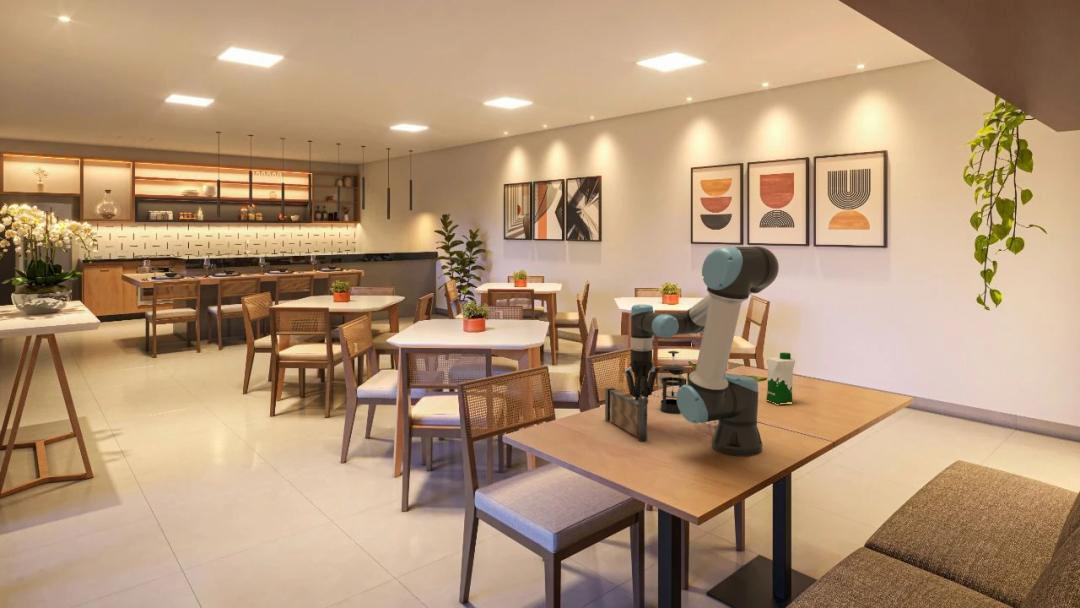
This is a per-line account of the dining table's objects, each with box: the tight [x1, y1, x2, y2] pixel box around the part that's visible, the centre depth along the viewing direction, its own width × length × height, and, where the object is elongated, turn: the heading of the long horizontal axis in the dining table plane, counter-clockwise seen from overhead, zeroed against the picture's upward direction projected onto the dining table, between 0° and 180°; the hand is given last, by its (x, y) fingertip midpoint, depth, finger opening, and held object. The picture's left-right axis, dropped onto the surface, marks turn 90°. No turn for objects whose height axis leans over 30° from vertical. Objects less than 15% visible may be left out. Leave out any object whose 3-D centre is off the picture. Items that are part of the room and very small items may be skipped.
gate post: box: [637, 396, 649, 443], centre depth 203 cm, size 3×3×15 cm
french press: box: [659, 350, 687, 415], centre depth 238 cm, size 12×9×23 cm
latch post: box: [604, 386, 616, 423], centre depth 225 cm, size 2×3×12 cm, turn 110°
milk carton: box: [765, 352, 796, 404], centre depth 248 cm, size 9×9×20 cm
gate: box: [610, 389, 639, 438], centre depth 214 cm, size 20×2×11 cm, turn 20°
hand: (640, 415), depth 219 cm, fingers closed
